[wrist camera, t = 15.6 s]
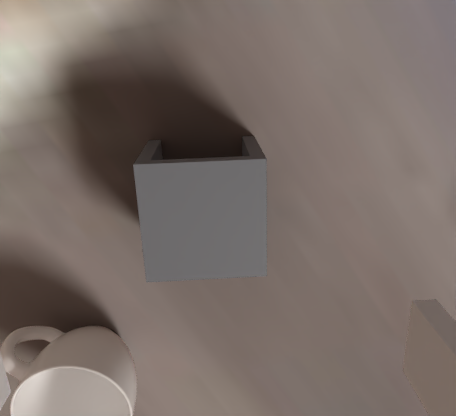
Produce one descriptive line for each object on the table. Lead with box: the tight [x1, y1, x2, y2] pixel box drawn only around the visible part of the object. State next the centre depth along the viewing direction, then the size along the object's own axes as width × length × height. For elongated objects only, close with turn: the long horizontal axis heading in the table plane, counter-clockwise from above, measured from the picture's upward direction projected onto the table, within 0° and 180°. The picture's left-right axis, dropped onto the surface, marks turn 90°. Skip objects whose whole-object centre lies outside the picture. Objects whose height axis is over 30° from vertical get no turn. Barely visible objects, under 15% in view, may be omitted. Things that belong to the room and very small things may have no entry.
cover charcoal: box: [133, 136, 267, 282], centre depth 27 cm, size 7×7×6 cm
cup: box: [0, 326, 137, 416], centre depth 31 cm, size 8×10×7 cm
